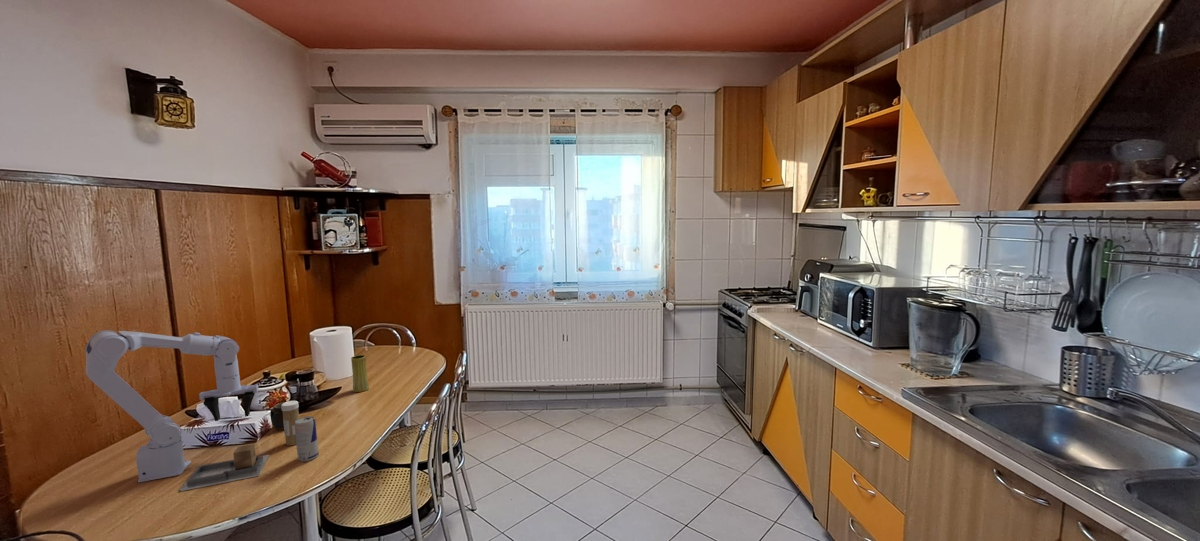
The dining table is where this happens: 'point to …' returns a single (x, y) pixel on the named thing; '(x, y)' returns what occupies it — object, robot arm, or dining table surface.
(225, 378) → the robot arm
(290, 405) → the sprinkles bottle
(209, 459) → the dining table surface
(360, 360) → the vase
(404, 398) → the dining table surface
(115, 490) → the dining table surface
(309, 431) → the energy drink
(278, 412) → the mate gourd
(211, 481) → the keyhole plate
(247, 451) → the walnut peg
